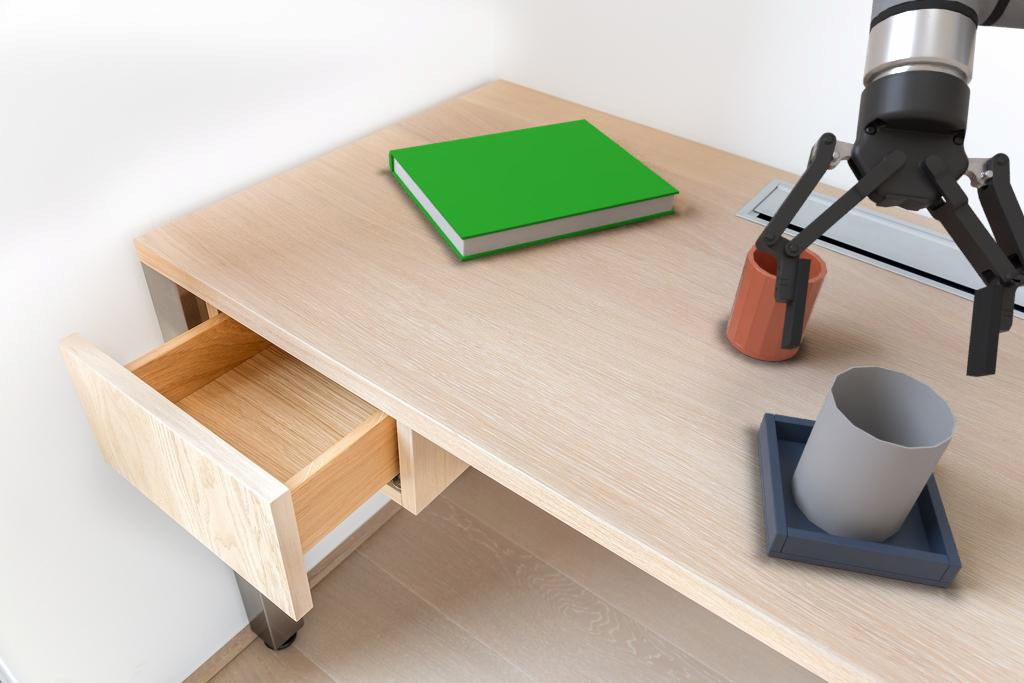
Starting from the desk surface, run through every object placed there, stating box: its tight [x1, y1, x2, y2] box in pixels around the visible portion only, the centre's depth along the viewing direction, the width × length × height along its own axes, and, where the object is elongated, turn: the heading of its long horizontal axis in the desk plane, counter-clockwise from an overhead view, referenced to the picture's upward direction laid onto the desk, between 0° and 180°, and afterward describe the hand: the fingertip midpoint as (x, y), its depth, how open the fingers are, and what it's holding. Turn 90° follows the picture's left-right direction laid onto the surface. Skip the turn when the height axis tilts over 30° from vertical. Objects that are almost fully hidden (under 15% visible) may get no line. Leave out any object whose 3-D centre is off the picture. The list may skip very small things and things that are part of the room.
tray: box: [756, 412, 963, 589], centre depth 61 cm, size 13×13×3 cm
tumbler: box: [725, 244, 828, 362], centre depth 75 cm, size 7×7×9 cm
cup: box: [790, 365, 957, 542], centre depth 58 cm, size 8×8×10 cm
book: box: [388, 118, 680, 262], centre depth 97 cm, size 22×28×3 cm
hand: (884, 361), depth 59 cm, fingers open, 13 cm apart
